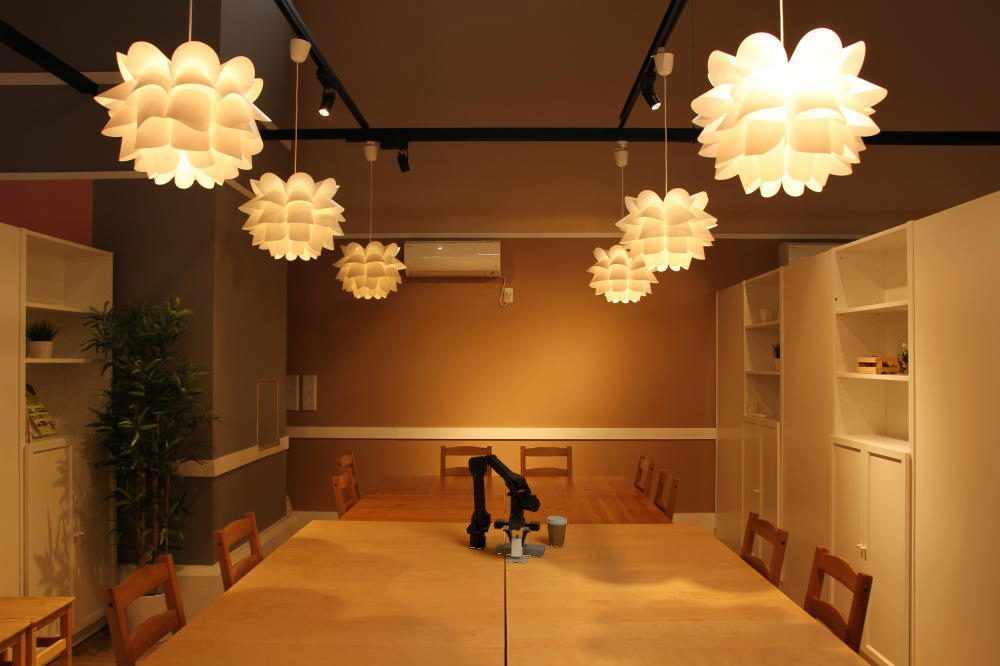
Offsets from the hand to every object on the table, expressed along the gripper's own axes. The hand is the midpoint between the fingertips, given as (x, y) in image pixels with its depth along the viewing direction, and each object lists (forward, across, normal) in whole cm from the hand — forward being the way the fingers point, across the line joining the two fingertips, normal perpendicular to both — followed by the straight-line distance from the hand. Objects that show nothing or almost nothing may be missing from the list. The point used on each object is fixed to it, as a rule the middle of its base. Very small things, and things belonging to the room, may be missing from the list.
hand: (517, 546), depth 251 cm
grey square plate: (+6, 0, 0) cm, 6 cm away
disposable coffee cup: (+6, +14, +24) cm, 28 cm away
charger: (+4, 0, 0) cm, 4 cm away
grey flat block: (+6, 0, +10) cm, 11 cm away
